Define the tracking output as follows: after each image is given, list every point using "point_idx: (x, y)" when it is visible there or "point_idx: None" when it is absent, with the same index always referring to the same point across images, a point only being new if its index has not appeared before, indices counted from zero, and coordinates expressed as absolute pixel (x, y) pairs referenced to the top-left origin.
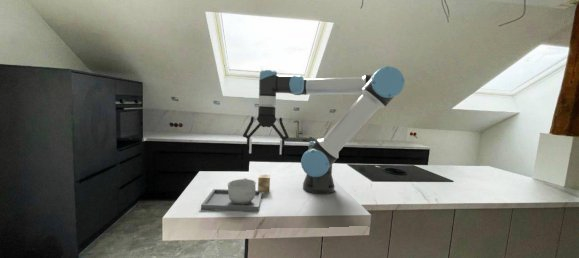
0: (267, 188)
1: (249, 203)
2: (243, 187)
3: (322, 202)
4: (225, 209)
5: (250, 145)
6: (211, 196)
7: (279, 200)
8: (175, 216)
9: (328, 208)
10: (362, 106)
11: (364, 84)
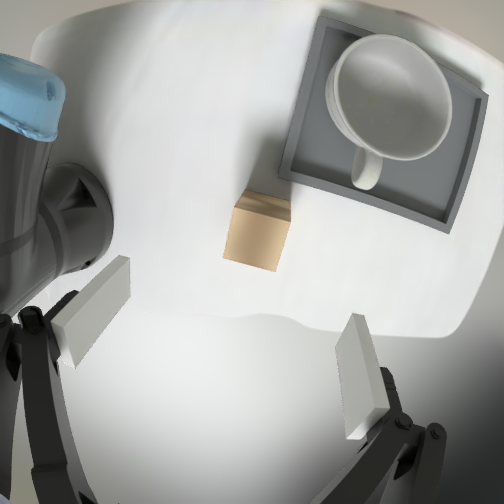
0: (249, 195)
1: None
2: (394, 35)
3: (87, 90)
4: None
5: (367, 359)
6: (460, 172)
7: (219, 105)
8: None
9: (89, 46)
10: None
11: None
